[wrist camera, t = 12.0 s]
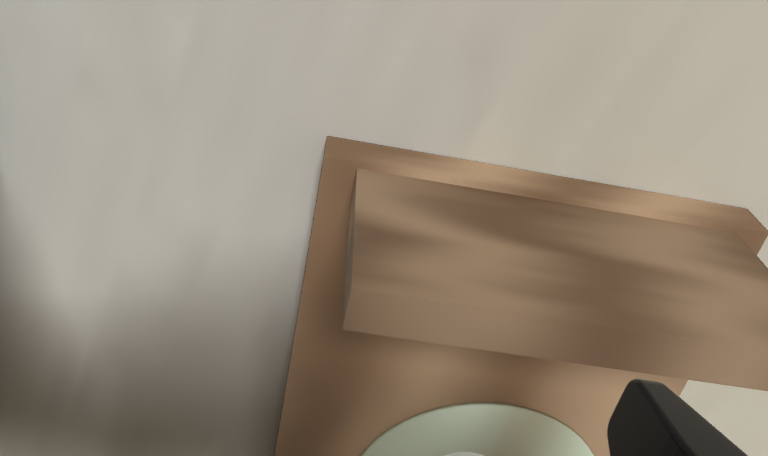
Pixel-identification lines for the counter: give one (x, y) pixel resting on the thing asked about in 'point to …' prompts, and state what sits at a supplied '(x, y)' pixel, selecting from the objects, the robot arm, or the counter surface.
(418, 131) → the counter surface
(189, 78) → the counter surface
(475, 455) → the white tall rounded piece
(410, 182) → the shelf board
